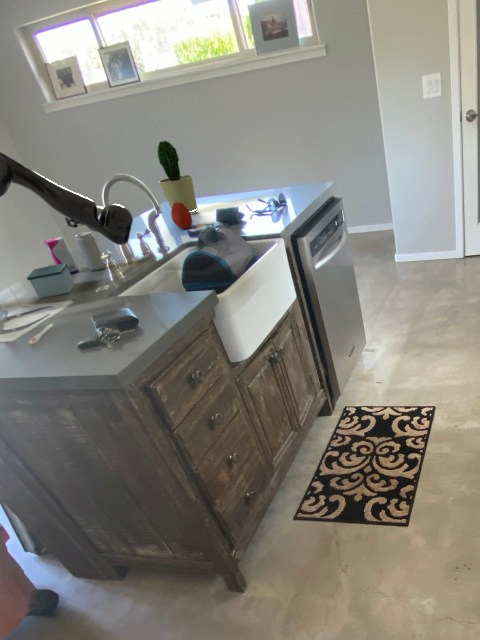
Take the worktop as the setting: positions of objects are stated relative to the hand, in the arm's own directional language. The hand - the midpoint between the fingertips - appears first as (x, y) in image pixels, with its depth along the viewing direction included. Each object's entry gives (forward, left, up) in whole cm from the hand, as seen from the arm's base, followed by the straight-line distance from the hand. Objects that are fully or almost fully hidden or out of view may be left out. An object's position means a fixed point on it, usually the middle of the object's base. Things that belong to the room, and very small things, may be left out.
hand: (83, 215), depth 175 cm
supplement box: (-16, +13, -19) cm, 28 cm away
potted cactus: (+27, +86, -19) cm, 92 cm away
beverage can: (-5, +10, -19) cm, 22 cm away
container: (-16, -10, -19) cm, 27 cm away
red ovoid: (+27, +52, -19) cm, 61 cm away
